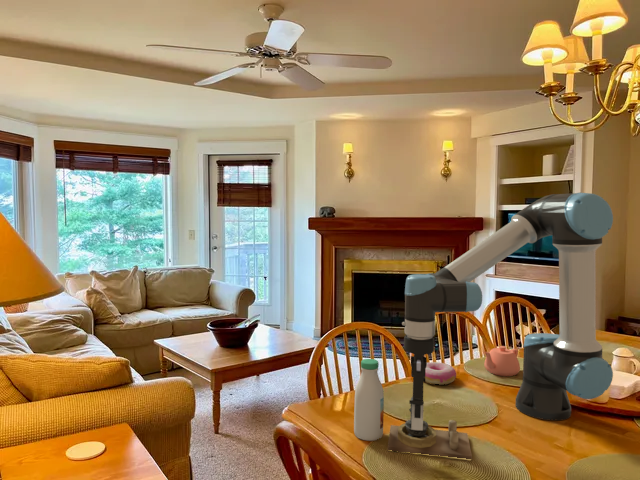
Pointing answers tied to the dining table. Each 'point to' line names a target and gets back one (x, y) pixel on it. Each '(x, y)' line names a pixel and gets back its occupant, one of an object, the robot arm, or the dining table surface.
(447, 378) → the donut
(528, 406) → the robot arm
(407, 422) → the dark grey tapered tower
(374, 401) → the milk bottle
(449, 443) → the board
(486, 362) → the teapot
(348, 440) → the dining table surface
